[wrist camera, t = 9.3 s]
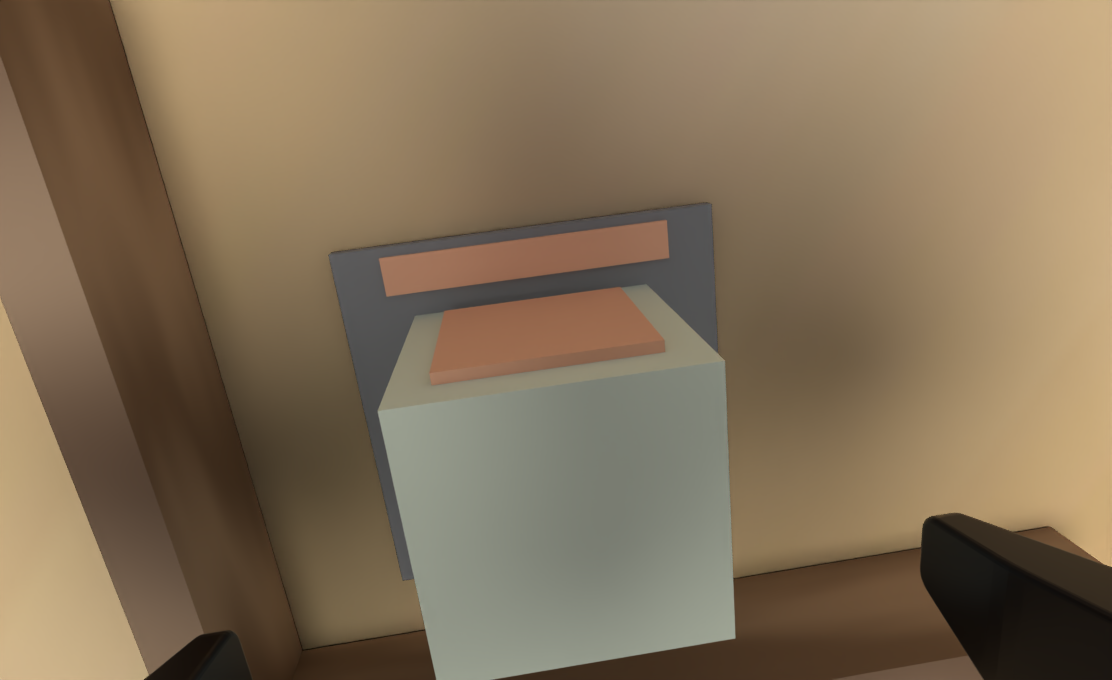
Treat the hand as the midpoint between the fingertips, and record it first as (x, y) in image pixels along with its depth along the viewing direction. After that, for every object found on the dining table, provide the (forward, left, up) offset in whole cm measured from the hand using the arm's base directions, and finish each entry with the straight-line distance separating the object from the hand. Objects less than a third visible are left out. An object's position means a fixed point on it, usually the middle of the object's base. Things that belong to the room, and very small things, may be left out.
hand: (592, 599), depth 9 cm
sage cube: (0, 0, -7) cm, 7 cm away
